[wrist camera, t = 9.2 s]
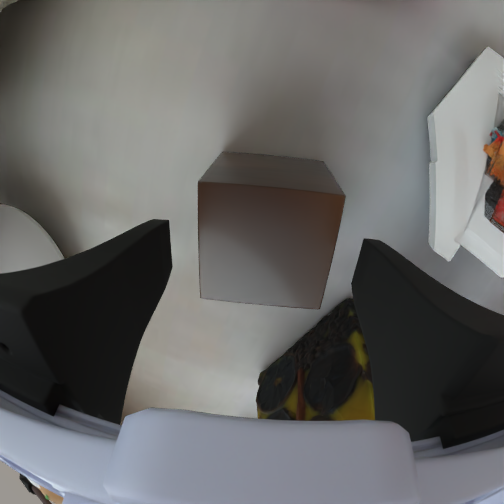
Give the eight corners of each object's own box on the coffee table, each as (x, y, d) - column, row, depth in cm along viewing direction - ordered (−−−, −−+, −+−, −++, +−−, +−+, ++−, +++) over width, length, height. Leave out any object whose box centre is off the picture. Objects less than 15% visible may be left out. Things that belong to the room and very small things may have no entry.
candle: (343, 407, 25) (353, 502, 16) (254, 373, 22) (243, 492, 14) (430, 345, 20) (468, 452, 11) (346, 291, 18) (381, 442, 9)
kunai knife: (12, 456, 29) (8, 470, 26) (46, 502, 15) (42, 525, 13) (31, 466, 31) (28, 480, 28) (81, 514, 18) (77, 536, 15)
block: (324, 161, 14) (346, 195, 10) (309, 249, 17) (319, 310, 12) (221, 151, 14) (197, 181, 10) (219, 241, 17) (200, 298, 12)
